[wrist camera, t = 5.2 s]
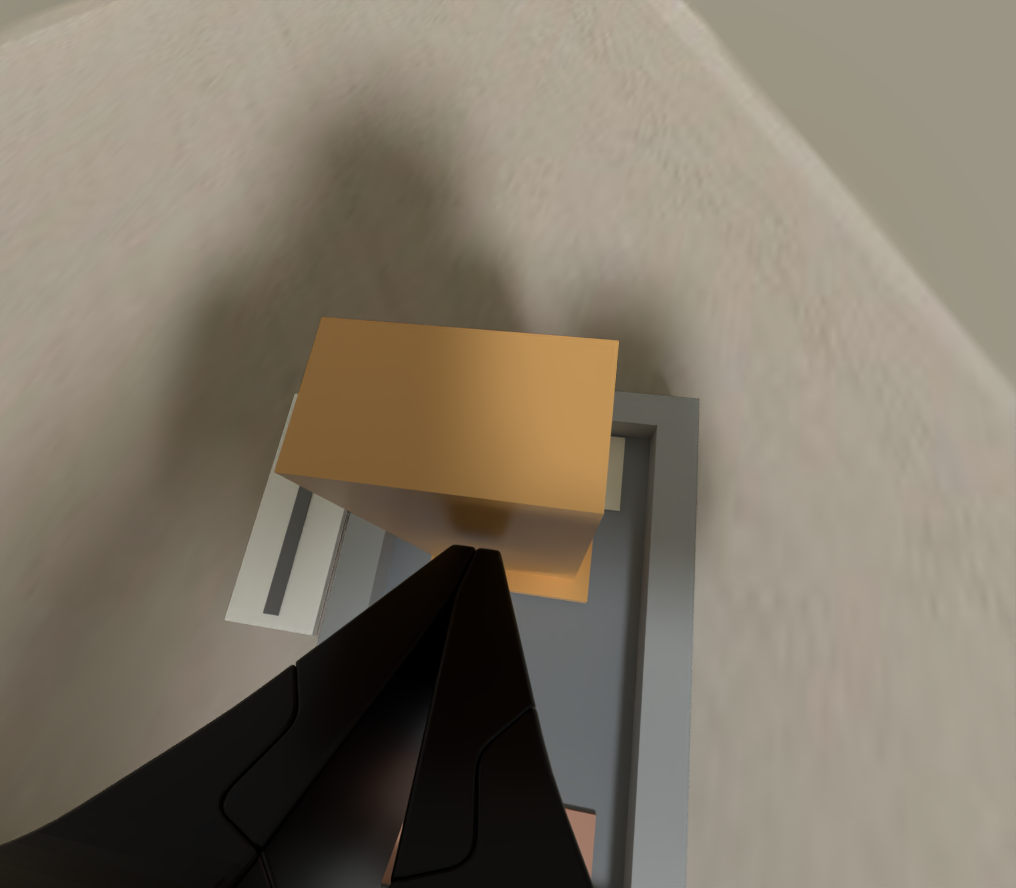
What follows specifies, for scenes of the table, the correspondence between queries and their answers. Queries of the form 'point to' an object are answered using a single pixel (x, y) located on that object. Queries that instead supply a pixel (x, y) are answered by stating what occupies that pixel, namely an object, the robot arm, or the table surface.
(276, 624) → the switch housing
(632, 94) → the table surface
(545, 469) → the orange tall block
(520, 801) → the robot arm
